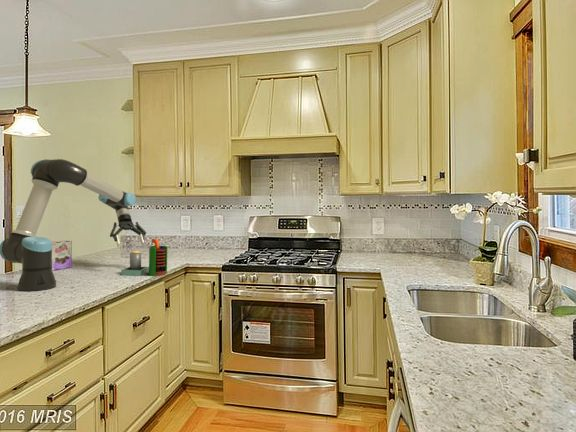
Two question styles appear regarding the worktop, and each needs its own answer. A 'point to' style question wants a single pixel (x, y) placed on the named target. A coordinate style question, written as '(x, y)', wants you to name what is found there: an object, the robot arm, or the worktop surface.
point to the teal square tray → (135, 271)
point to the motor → (157, 259)
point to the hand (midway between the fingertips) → (131, 244)
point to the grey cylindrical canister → (135, 260)
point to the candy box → (61, 255)
